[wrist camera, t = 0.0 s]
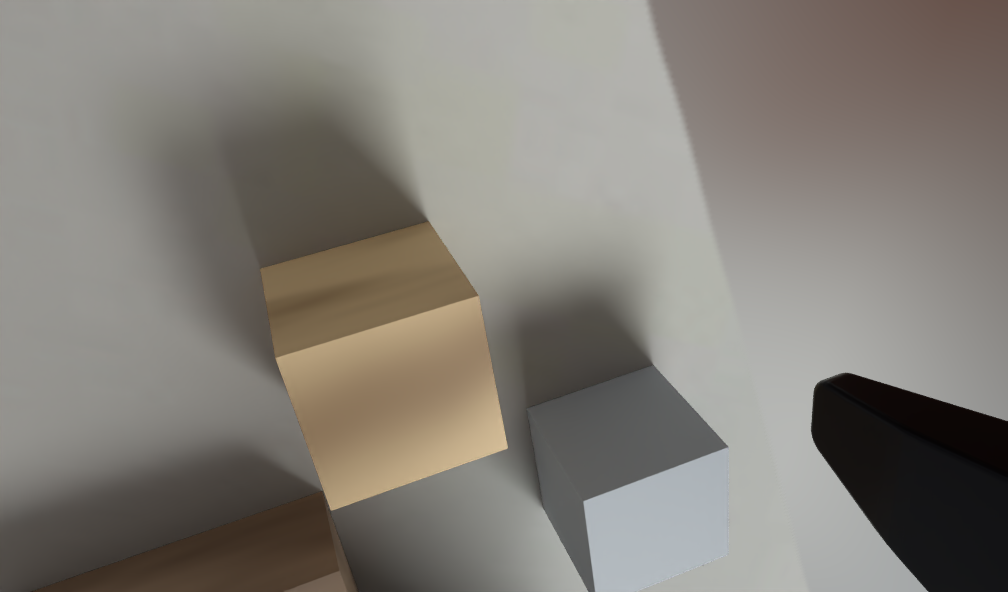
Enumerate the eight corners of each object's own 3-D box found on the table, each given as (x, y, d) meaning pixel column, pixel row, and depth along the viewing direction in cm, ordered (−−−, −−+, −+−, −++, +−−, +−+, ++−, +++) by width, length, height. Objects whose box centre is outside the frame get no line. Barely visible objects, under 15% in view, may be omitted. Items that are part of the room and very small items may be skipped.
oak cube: (457, 356, 26) (507, 448, 22) (307, 404, 25) (331, 510, 21) (428, 220, 24) (478, 295, 19) (259, 267, 23) (275, 358, 18)
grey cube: (658, 464, 32) (728, 554, 28) (542, 507, 31) (597, 607, 27) (652, 363, 29) (728, 447, 25) (526, 407, 28) (583, 501, 24)
